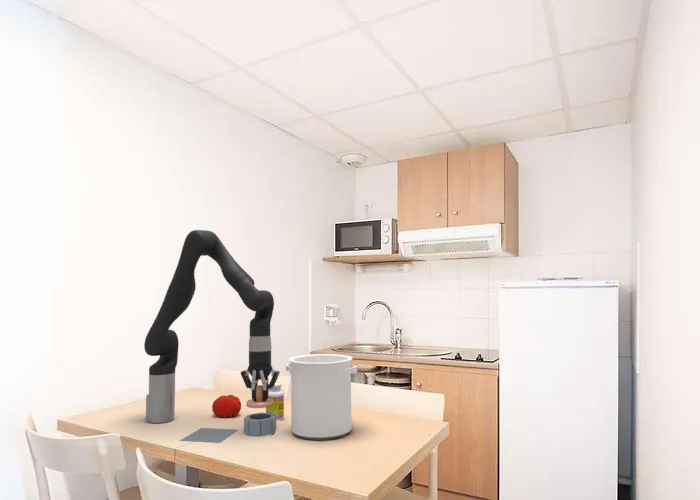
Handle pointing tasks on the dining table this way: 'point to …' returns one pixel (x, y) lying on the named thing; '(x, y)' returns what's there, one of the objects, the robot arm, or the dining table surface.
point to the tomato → (226, 406)
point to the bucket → (321, 395)
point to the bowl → (260, 424)
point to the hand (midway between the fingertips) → (260, 400)
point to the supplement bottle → (276, 401)
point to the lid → (259, 399)
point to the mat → (210, 435)
